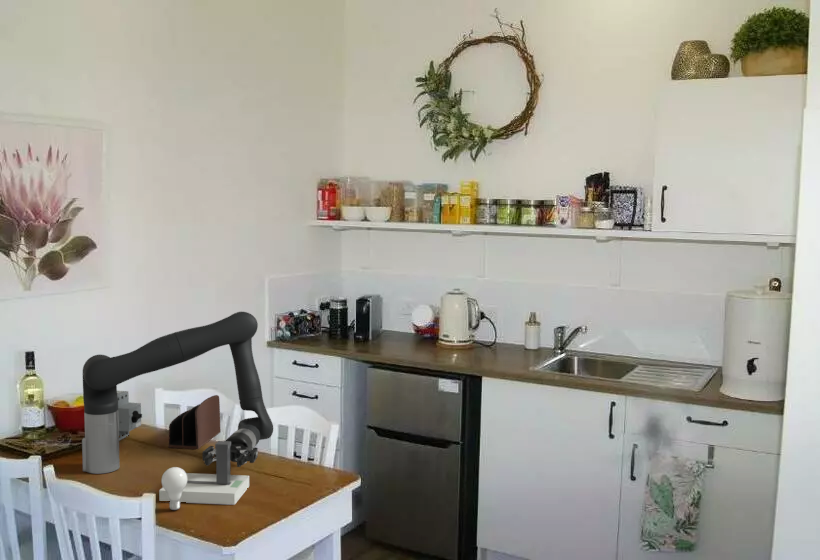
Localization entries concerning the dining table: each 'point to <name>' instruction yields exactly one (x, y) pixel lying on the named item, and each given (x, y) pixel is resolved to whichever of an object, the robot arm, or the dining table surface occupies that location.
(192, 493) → the breaker panel
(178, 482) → the lightbulb
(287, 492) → the dining table surface
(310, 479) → the dining table surface
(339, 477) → the dining table surface
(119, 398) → the circuit breaker
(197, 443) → the letter holder
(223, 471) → the handle
